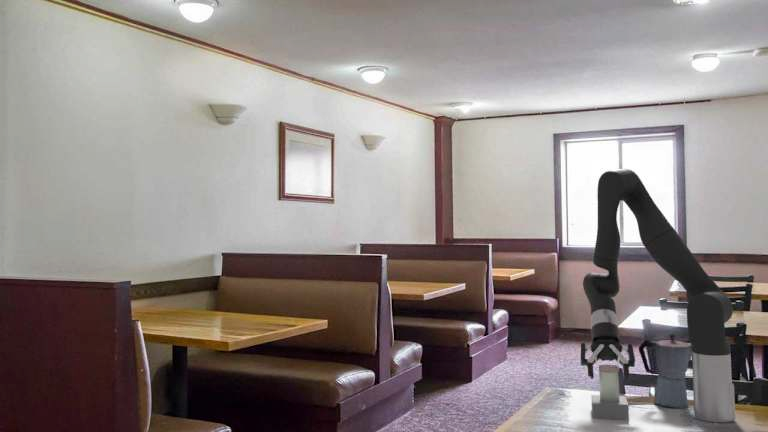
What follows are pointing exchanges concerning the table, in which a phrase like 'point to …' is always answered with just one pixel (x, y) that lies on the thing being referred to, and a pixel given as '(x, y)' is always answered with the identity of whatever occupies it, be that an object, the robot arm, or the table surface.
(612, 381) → the canister
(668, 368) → the moka pot
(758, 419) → the table surface
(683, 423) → the table surface
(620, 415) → the stand
